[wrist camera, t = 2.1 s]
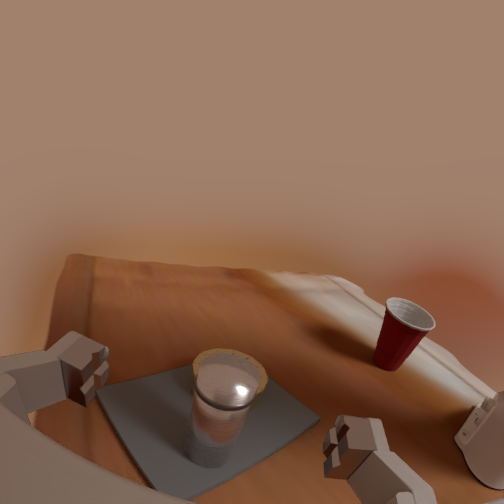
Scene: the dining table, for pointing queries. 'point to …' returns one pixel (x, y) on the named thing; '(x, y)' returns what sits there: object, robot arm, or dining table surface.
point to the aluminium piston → (219, 408)
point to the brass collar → (219, 350)
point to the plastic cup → (400, 332)
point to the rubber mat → (176, 422)
